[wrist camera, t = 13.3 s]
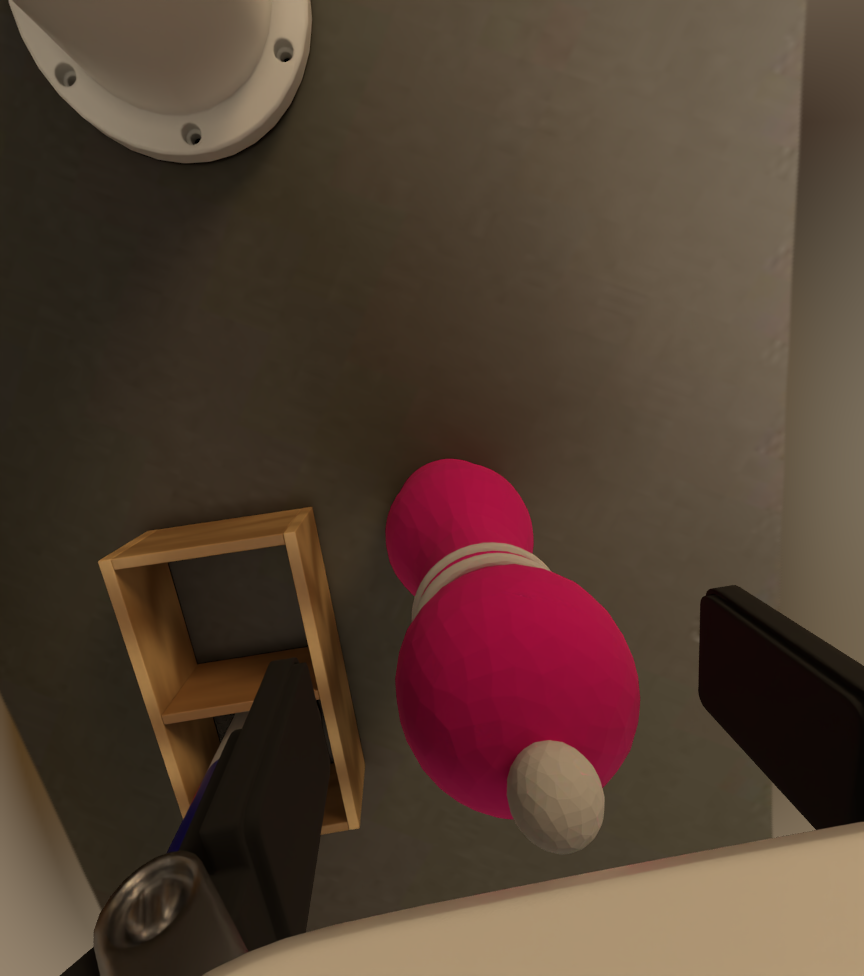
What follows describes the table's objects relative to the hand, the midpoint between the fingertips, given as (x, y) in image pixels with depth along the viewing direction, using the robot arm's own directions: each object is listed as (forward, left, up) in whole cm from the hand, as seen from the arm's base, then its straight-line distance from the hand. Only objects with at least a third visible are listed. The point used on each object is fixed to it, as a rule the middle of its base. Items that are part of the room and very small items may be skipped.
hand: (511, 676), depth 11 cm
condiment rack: (+9, -12, -17) cm, 23 cm away
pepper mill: (+1, 0, -17) cm, 17 cm away
